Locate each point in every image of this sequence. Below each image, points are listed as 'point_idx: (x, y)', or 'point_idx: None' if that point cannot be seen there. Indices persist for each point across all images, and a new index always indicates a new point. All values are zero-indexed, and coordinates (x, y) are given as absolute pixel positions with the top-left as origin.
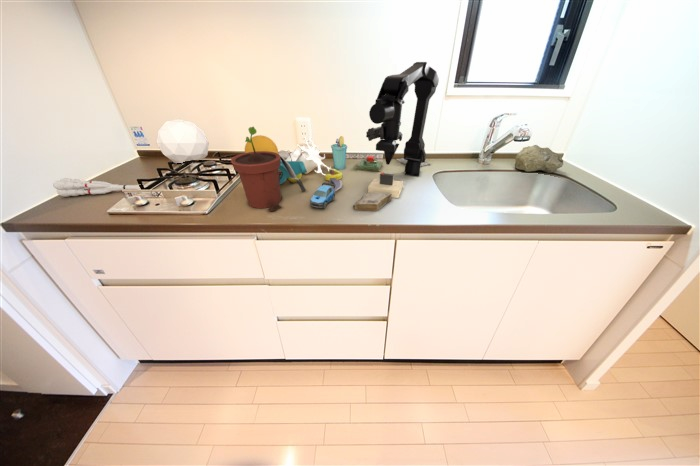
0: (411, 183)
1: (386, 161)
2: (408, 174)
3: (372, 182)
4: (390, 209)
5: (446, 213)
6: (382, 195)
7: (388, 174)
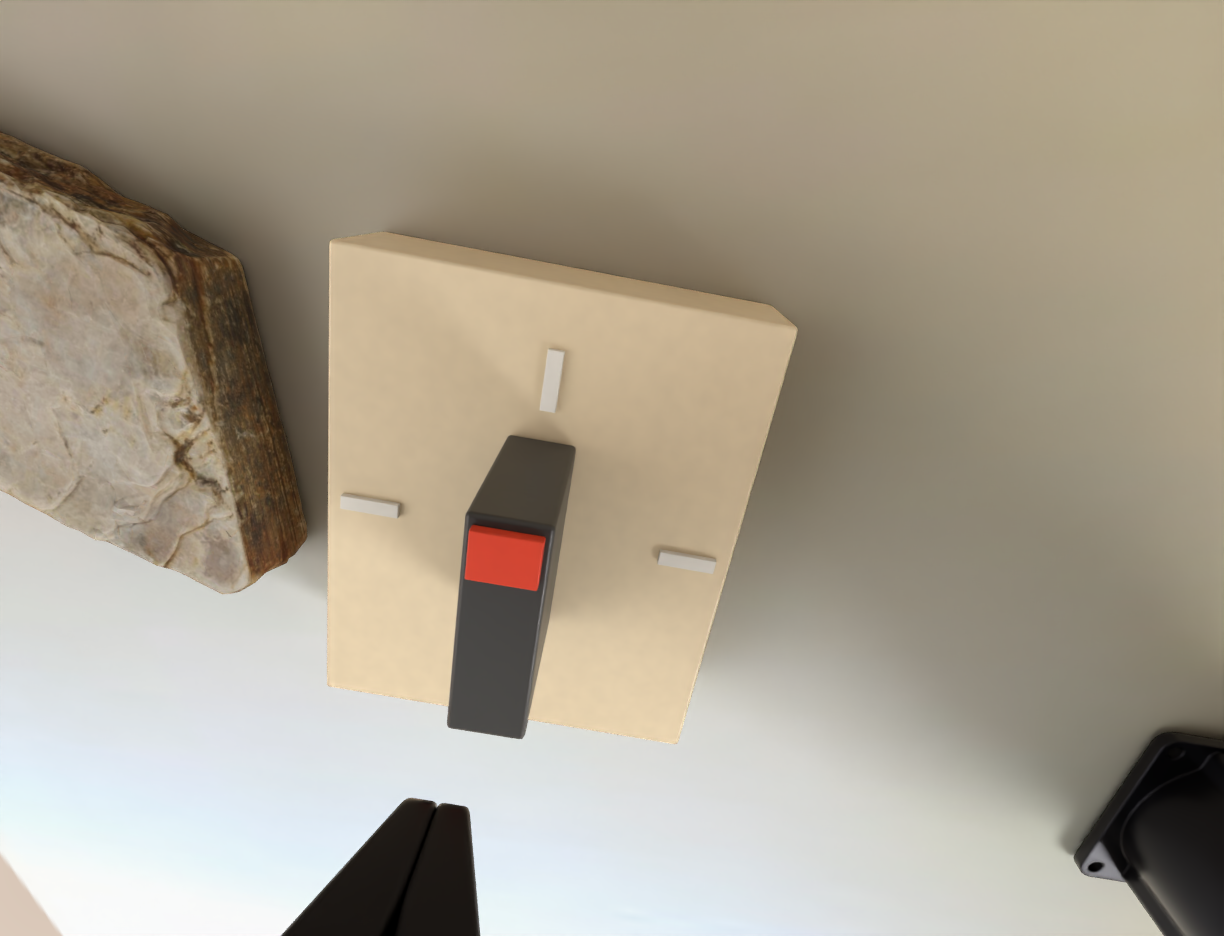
0: (839, 772)
1: (345, 881)
2: (1136, 773)
3: (553, 306)
4: (60, 537)
5: (212, 932)
6: (109, 484)
7: (491, 661)
